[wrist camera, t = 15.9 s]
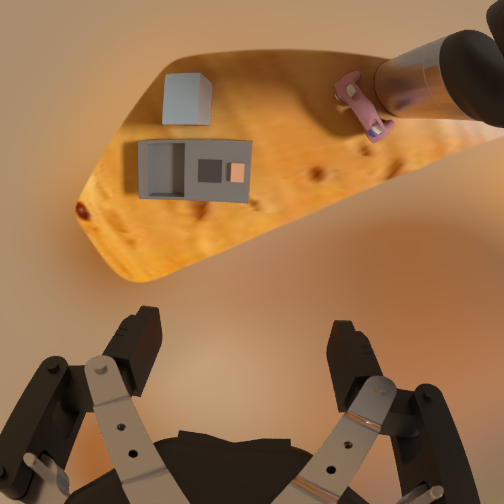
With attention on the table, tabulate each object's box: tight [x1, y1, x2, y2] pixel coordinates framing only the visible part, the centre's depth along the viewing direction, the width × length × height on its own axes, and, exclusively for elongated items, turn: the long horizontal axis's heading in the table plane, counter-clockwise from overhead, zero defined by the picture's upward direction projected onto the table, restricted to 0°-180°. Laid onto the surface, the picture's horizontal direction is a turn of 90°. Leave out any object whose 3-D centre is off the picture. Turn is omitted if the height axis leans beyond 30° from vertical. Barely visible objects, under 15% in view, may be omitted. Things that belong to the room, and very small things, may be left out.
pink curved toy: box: [334, 71, 394, 143], centre depth 33 cm, size 10×5×7 cm, turn 38°
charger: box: [162, 73, 213, 125], centre depth 32 cm, size 4×6×8 cm, turn 176°
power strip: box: [138, 139, 252, 203], centre depth 37 cm, size 15×8×4 cm, turn 87°
